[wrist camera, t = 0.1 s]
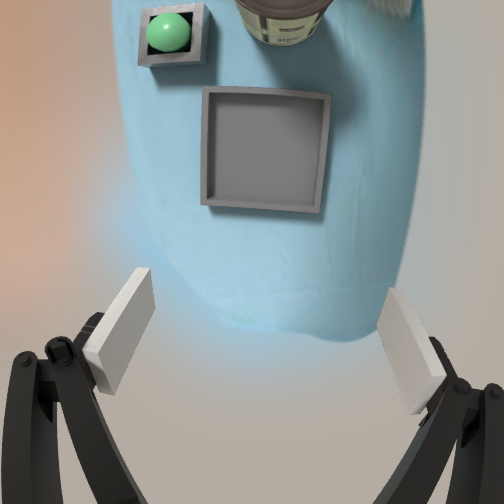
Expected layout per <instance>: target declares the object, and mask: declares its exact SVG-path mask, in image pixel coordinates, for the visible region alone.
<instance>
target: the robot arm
mask: <svg viewBox="0 0 504 504" xmlns="http://www.w3.org/2000/svg"><path fill="white" fill-rule="evenodd" d="M154 310H155V304H154V295H153V288H152V280H151V271H150V268H142V267H137V269H136V270H135V271H134V273H133V274H132V275H131V277H130V278H129V280H128V281H127V283H126V284H125V285H124V287H123V288H122V289H121V291H120V292H119V294H118V295H117V297H116V298H115V300H114V301H113V303H112V304H111V306H110V307H109V308H108V310H107V311H106V313H100V312H97V313H95V314H94V315H93V316H91V317H90V318H89V319H88V321H87V322H86V324H85V326H84V327H83V328H82V330H81V332H79V334H78V335H77V337H76V338H75V340H74V341H73V343H72V341H71V340H70V339H69V338H67V337H63V336H60V337H55V338H53V339H51V340H50V341H49V342H48V343H47V344H46V346H45V353H46V355H47V357H48V359H47V360H46V359H44V360H43V359H42V360H41V359H38V358H37V356H36V355H35V353H33V352H31V351H25V352H22V353H20V354H18V355H17V356H16V357H15V359H14V361H13V365H12V370H11V376H10V381H9V387H8V394H7V401H6V409H5V417H4V427H3V441H2V462H1V482H2V483H1V485H2V504H63V497H62V491H61V482H60V472H59V459H58V443H57V402H60V403H61V407H62V410H63V414H64V417H65V421H66V424H67V427H68V430H69V433H70V436H71V439H72V442H73V445H74V448H75V451H76V453H77V456H78V459H79V461H80V464H81V466H82V469H83V471H84V474H85V476H86V479H87V481H88V483H89V485H90V488H91V490H92V492H93V494H94V497H95V499H96V501H97V503H98V504H148V503H147V501H146V500H145V498H144V496H143V494H142V493H141V491H140V489H139V488H138V486H137V484H136V482H135V481H134V479H133V477H132V475H131V473H130V471H129V469H128V468H127V466H126V464H125V462H124V460H123V458H122V456H121V454H120V452H119V450H118V448H117V446H116V443H115V441H114V439H113V437H112V435H111V433H110V431H109V428H108V426H107V424H106V422H105V419H104V417H103V414H102V412H101V410H100V407H99V405H98V402H97V399H96V397H95V394H94V392H93V389H94V387H95V385H97V387H98V390H99V391H100V392H102V393H106V394H110V395H115V392H116V390H117V388H118V386H119V384H120V381H121V379H122V377H123V375H124V373H125V371H126V368H127V366H128V364H129V362H130V360H131V358H132V356H133V353H134V351H135V349H136V347H137V345H138V343H139V341H140V339H141V337H142V335H143V333H144V330H145V328H146V326H147V325H148V322H149V320H150V318H151V316H152V314H153V312H154ZM376 327H377V329H378V332H379V335H380V337H381V340H382V343H383V345H384V348H385V351H386V354H387V357H388V359H389V362H390V365H391V368H392V371H393V374H394V377H395V380H396V383H397V386H398V389H399V392H400V395H401V398H402V402H403V405H404V408H405V412H406V415H414V414H421V412H422V411H423V409H424V408H425V407H427V410H428V413H427V415H426V416H425V417H424V419H423V420H422V421H421V422H420V424H419V426H420V428H419V429H418V431H417V433H416V435H415V437H414V439H413V441H412V442H411V444H410V446H409V448H408V450H407V451H406V453H405V455H404V456H403V458H402V460H401V461H400V463H399V465H398V466H397V468H396V470H395V471H394V473H393V475H392V476H391V478H390V479H389V481H388V482H387V484H386V485H385V487H384V488H383V490H382V491H381V493H380V494H379V495H378V497H377V498H376V500H375V501H374V502H373V504H427V502H428V500H429V498H430V497H431V495H432V493H433V491H434V489H435V487H436V485H437V482H438V481H439V479H440V477H441V474H442V472H443V470H444V468H445V466H446V463H447V461H448V459H449V457H450V454H451V452H452V449H453V447H454V444H455V442H456V439H457V443H456V451H455V458H454V464H453V470H452V476H451V481H450V487H449V491H448V496H447V500H446V504H504V390H503V389H502V388H501V387H500V386H499V385H497V384H493V383H490V384H488V385H487V386H486V387H485V389H484V390H479V389H473V388H471V385H470V384H469V383H468V382H467V381H466V380H464V379H462V378H458V376H457V374H456V372H455V370H454V368H453V366H452V364H451V362H450V360H449V359H448V358H447V355H446V353H445V352H444V349H443V347H442V345H441V343H440V342H439V341H438V340H437V339H436V338H435V337H428V336H427V334H426V332H425V330H424V328H423V326H422V325H421V323H420V321H419V319H418V317H417V315H416V313H415V312H414V310H413V308H412V306H411V304H410V303H409V301H408V299H407V297H406V296H405V294H404V292H403V290H402V289H401V288H394V287H389V290H388V293H387V296H386V299H385V302H384V305H383V308H382V311H381V313H380V316H379V319H378V322H377V325H376Z"/></svg>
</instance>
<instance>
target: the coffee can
mask: <svg viewBox="0 0 504 504" xmlns="http://www.w3.org/2000/svg"><path fill="white" fill-rule="evenodd" d="M332 2H333V0H235V3H236V5H237V8H238V10H239V13H240V15H241V19H242V22H243V24H244V26H245V28H246V29H247V31H248V32H249V33H250V34H251V35H252V36H254V37H255V38H256V39H258V40H260V41H262V42H264V43H267V44H270V45H275V46H288V45H293V44H297V43H300V42H302V41H304V40H306V39H307V38H308V37H309V36H311V35H312V34H313V32H314V31H315V30H316V28H317V26H318V23H319V22H320V20H321V18H322V16H323V14H324V13H325V11H326V10H327V8H328V6H329V5H330V4H331V3H332Z"/></svg>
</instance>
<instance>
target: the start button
mask: <svg viewBox="0 0 504 504" xmlns="http://www.w3.org/2000/svg"><path fill="white" fill-rule="evenodd" d="M146 38H147V41H148V43H149V44H150V45H151V46H152V47H154V48H156V49H158V50H161V51H163V52H166V53H181V52H183V51H185V50H186V49H187V48H188V47H189V46H190V45H191V38H192V26H191V25H190V24H189V23H188V22H187V21H186V20H185V19H184V18H182V17H181V16H180V15H178V14H176V13H163V14H161V15H158V16H157V17H155V18H154V19H153V20H152V21H151V22H150V24H149V25H148V27H147V30H146Z"/></svg>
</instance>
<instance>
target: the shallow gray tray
mask: <svg viewBox="0 0 504 504" xmlns="http://www.w3.org/2000/svg"><path fill="white" fill-rule="evenodd" d="M331 99H332V94H325V93H318V92H309V91H300V90H289V89H277V88H262V87H238V86H203V88H202V117H201V205H209V206H226V207H242V208H257V209H271V210H284V211H296V212H308V213H319V210H320V203H321V195H322V187H323V179H324V170H325V161H326V152H327V143H328V133H329V122H330V111H331Z"/></svg>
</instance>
